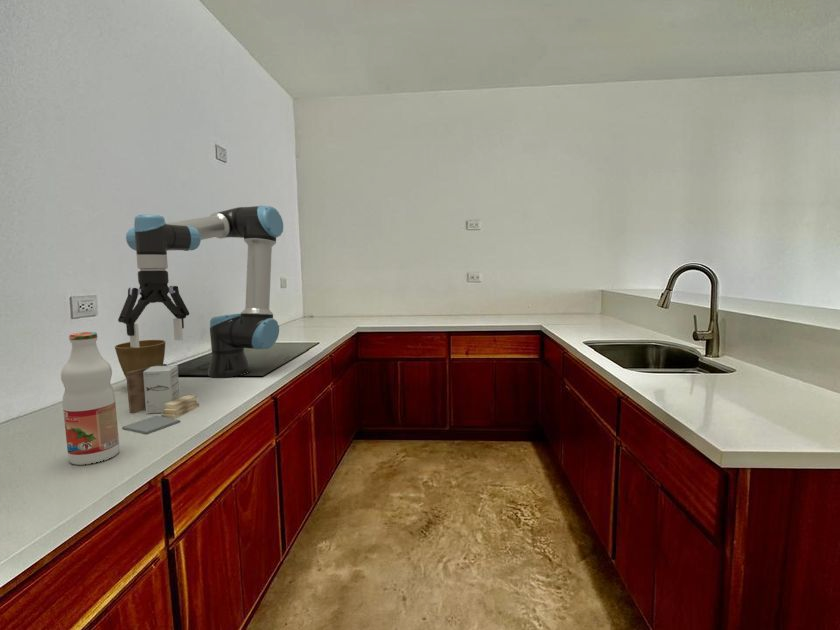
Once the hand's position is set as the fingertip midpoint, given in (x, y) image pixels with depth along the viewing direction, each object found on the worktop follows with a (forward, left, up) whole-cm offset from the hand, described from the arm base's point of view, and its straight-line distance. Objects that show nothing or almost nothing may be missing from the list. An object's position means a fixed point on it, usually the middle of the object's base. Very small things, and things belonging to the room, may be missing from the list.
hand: (157, 343), depth 133 cm
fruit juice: (+29, +16, -20) cm, 39 cm away
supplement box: (0, 0, -20) cm, 20 cm away
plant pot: (-13, -28, -20) cm, 37 cm away
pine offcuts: (-1, +7, -20) cm, 21 cm away
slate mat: (+10, +9, -20) cm, 24 cm away
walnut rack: (0, -6, -20) cm, 21 cm away
